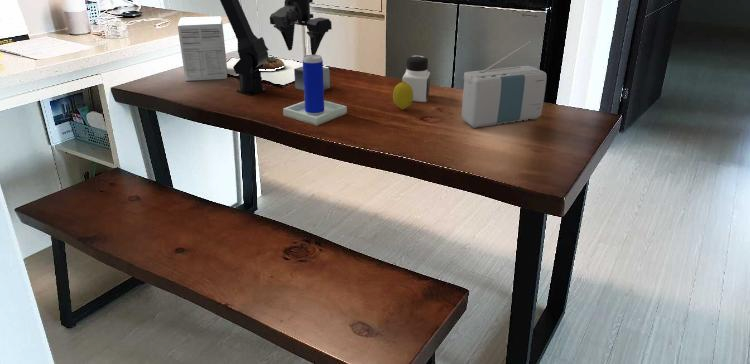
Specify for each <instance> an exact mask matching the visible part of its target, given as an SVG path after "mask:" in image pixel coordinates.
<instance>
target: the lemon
mask: <svg viewBox="0 0 750 364" xmlns="http://www.w3.org/2000/svg"><path fill="white" fill-rule="evenodd" d="M392 100H393V103H394V105H395V106H396V107H398V108H399V109H400V110H405V109H406V108H408V107H410V106H411V105H412V102H413V101H412V100H413V90H412V88H411V86H410V85H409V84H407V83H405V82H404V81H403V80H402V81H401V82H399V83H398V84H396V85H395V87H394V88H393V93H392Z"/></svg>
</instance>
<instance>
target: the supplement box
mask: <svg viewBox="0 0 750 364" xmlns="http://www.w3.org/2000/svg"><path fill="white" fill-rule="evenodd" d="M177 30H178V39H179V43H180V51H181V52H180V53H181V58H182V65H183V72H184V73H183V74H184V79H185V82H189V81H190V82H191V81H207V80H208V81H210V80H226V79H228V65H227V56H226V55H227V54H226V47H225V44H226V43H225V34H224V27H223V18H222V16H219V15H218V16H217V15H216V16H193V17H190V16H188V17H180V19H179V21H178V24H177Z"/></svg>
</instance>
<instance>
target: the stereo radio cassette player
mask: <svg viewBox="0 0 750 364" xmlns="http://www.w3.org/2000/svg"><path fill="white" fill-rule="evenodd" d="M532 42H533V41H532V40H529V42H527V43H525V44H523V45H521V46H520V47H519V48H517V49H515V50H514V51H512V52H510V53H508V54H507V55H506V56H504V57H502V58H501V59H499V60H497V61H496V62H494V63H493V64H492V65H490V66H488V67H487V68H485V69H483V70H482V69H481V70H473V71H465V72H464V74H463V80H464V81H463V92H462V93H463V94H462V104H461V118H462V120H463V121H464V122H465V123H466V124H468V125H469V126H470V127H472V128H473V129H476V128H481V127H489V126H495V125H496V124H497V125H503V124H502V123H504V124H509V123H508V122H511V123H516V122H515V121H518V122H523V121H522V120H524V121H529V120H528V119H531V120H532V119H534V120H537V118H541V116H542V111H543V106H544V101H545V95H546V94H545V93H546V86H547V72H545V71H543V70H540V69H539V68H538V67H535V66H531V65H521V66H509V67H501V68H494V67H495V66H496V65H498V64H499V63H501V62H503V61H504V60H506V59H507V58H509V57H510V56H512V55H513V54H515V53H516V52H518V51H519V50H520V49H521V50H522V48H524V47H526V45H528V44H529V43H532ZM491 68H492V69H491ZM497 125H496V126H497Z"/></svg>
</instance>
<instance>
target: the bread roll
mask: <svg viewBox="0 0 750 364" xmlns="http://www.w3.org/2000/svg"><path fill="white" fill-rule="evenodd" d="M284 65H285V63H284V61H283V60H282V59H280V58H277V57H275V56H268V58H267V61H266V62H265V63H264V66H263V68H261V69H265V70H266V69H275V68H279V67H282V66H284ZM284 67H285V66H284Z"/></svg>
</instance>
